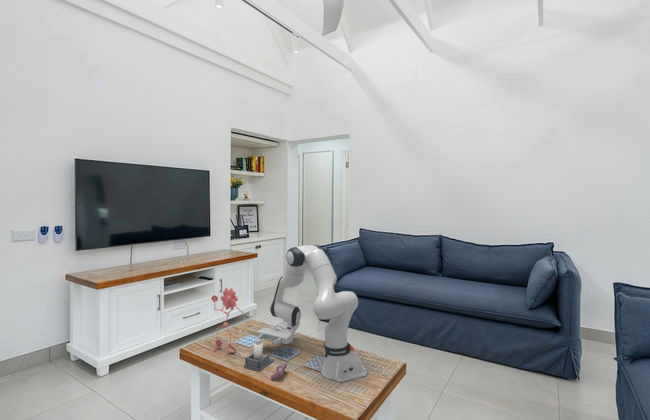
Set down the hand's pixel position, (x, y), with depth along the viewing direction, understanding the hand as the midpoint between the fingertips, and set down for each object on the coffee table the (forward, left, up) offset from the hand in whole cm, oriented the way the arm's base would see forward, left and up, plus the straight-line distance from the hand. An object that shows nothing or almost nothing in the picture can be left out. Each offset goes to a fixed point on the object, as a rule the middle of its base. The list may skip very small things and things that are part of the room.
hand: (266, 341), depth 171 cm
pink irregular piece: (-5, +18, -10) cm, 21 cm away
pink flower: (+19, -17, -10) cm, 27 cm away
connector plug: (+4, +6, -8) cm, 11 cm away
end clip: (+4, +5, -10) cm, 11 cm away
